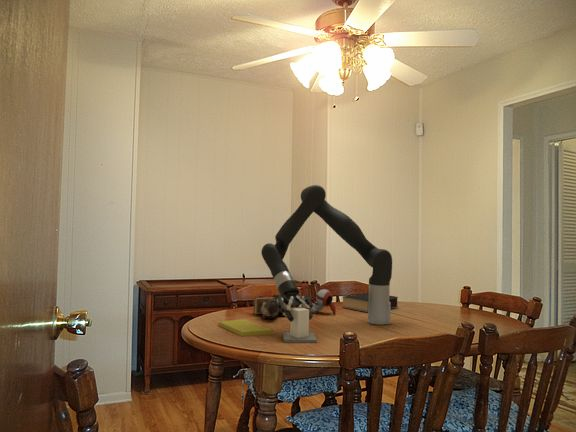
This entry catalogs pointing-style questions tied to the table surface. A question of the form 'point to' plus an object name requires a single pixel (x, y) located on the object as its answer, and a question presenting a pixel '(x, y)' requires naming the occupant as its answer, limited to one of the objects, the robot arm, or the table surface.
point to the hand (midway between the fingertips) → (301, 319)
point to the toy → (323, 301)
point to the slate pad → (289, 338)
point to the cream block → (300, 322)
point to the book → (363, 302)
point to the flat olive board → (245, 327)
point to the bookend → (267, 307)
